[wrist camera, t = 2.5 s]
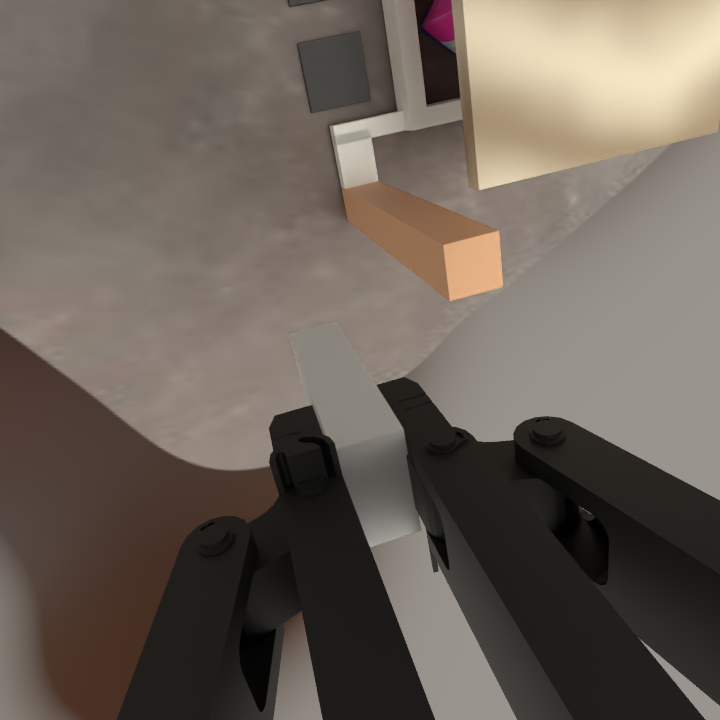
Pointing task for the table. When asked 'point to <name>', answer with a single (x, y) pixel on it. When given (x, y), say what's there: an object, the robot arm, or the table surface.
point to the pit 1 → (301, 2)
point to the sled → (400, 209)
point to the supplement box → (440, 24)
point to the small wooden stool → (581, 81)
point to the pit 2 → (334, 71)
